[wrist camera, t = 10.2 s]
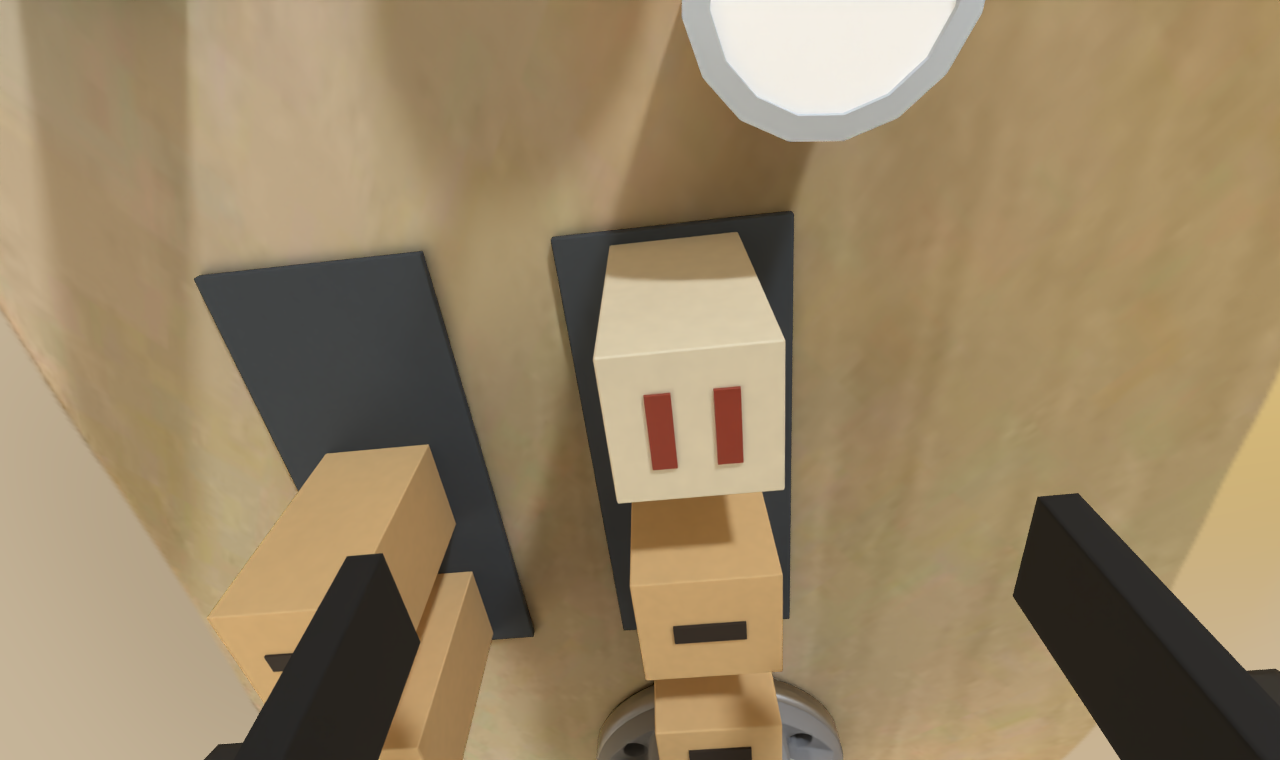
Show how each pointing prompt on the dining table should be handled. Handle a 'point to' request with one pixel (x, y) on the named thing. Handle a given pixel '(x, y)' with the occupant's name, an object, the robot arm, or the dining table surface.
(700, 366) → the cream block
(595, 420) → the right word board
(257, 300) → the left word board
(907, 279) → the dining table surface
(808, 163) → the dining table surface
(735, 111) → the white cup
